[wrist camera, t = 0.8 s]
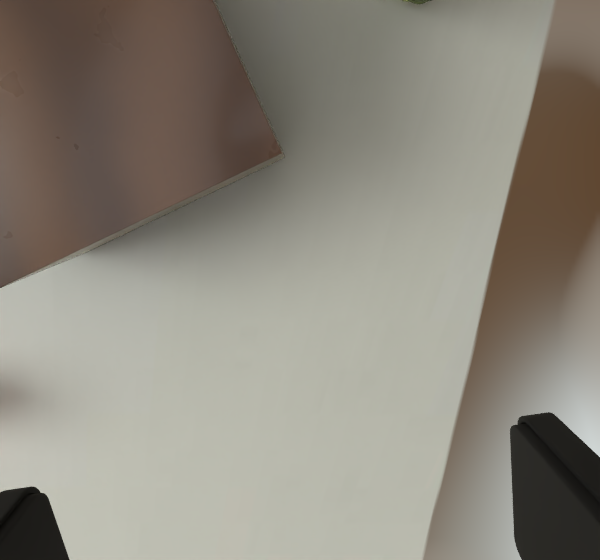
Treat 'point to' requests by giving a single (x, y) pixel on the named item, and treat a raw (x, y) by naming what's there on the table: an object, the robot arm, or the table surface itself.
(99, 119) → the cabinet
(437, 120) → the table surface
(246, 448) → the table surface
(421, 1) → the vegetable
